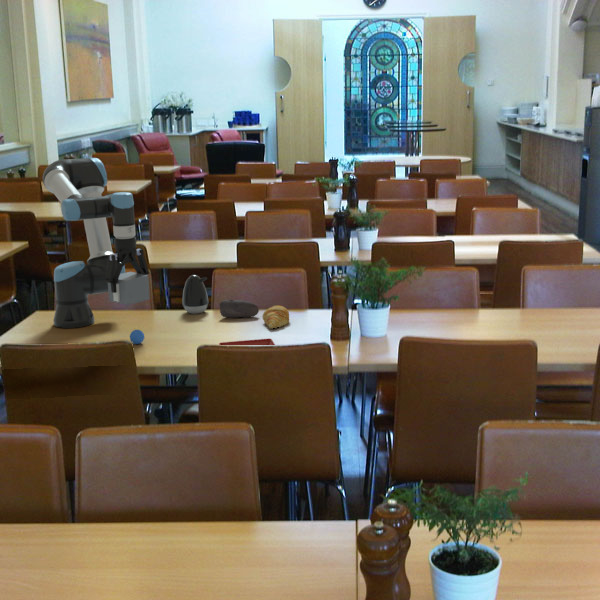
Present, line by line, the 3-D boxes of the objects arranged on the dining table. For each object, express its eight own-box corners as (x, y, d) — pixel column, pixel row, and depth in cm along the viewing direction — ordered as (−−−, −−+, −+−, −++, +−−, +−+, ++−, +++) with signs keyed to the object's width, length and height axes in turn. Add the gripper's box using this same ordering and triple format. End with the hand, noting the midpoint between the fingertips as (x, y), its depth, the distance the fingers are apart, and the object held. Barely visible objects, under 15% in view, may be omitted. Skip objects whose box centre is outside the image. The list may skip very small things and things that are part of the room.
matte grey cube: (109, 300, 311) (107, 276, 309) (131, 295, 318) (130, 271, 316) (126, 305, 304) (125, 280, 302) (149, 299, 312) (148, 275, 310)
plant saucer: (281, 362, 279) (281, 352, 279) (225, 367, 276) (225, 357, 275) (271, 347, 297) (271, 338, 296) (218, 352, 293) (218, 342, 292)
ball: (127, 344, 304) (126, 330, 303) (139, 340, 308) (138, 327, 307) (136, 346, 301) (135, 332, 300) (147, 343, 304) (146, 329, 303)
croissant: (280, 340, 316) (289, 321, 314) (255, 327, 316) (264, 308, 314) (287, 323, 337) (296, 306, 335) (264, 311, 337) (273, 294, 334)
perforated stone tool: (260, 315, 338) (259, 298, 336) (257, 319, 333) (257, 301, 331) (222, 315, 340) (221, 298, 338) (219, 319, 335) (218, 301, 333)
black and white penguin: (204, 315, 340) (202, 277, 337) (179, 315, 342) (177, 277, 339) (212, 309, 350) (210, 272, 346) (188, 308, 352) (185, 272, 348)
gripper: (104, 243, 295) (109, 306, 301) (157, 233, 311) (160, 293, 317) (91, 240, 300) (96, 302, 305) (143, 231, 316) (147, 290, 322)
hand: (129, 297), depth 311 cm, fingers closed on matte grey cube, 10 cm apart
